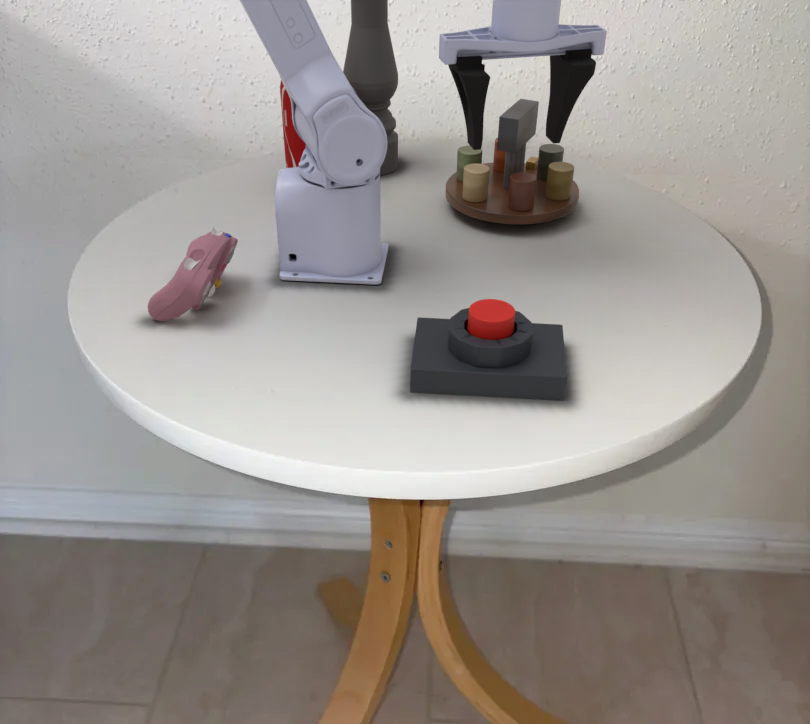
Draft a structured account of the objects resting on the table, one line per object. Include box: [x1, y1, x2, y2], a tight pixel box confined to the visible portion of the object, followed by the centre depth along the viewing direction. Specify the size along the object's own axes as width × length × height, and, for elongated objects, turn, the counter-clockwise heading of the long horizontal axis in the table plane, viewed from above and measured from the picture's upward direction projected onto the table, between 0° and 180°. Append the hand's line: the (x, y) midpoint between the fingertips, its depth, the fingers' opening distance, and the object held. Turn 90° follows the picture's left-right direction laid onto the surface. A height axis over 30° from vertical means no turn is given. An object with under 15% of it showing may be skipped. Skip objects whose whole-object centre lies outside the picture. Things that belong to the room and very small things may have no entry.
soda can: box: [279, 80, 306, 168], centre depth 97 cm, size 6×6×12 cm
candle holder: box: [342, 0, 399, 176], centre depth 97 cm, size 6×6×25 cm
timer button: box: [468, 298, 516, 340], centre depth 71 cm, size 4×4×2 cm
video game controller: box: [147, 227, 239, 322], centre depth 80 cm, size 10×5×7 cm, turn 168°
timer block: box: [409, 307, 568, 402], centre depth 72 cm, size 12×8×4 cm, turn 85°
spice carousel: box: [445, 98, 580, 225], centre depth 93 cm, size 14×14×9 cm
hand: (513, 142), depth 84 cm, fingers open, 7 cm apart
